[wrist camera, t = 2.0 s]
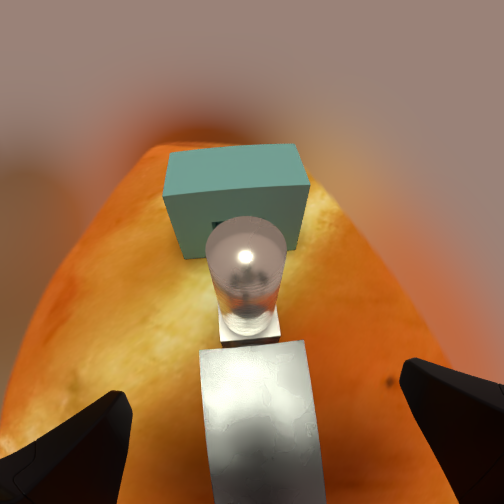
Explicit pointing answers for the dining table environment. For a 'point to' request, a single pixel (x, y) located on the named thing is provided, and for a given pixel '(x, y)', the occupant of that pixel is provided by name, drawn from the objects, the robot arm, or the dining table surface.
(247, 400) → the grey rectangular box
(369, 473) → the dining table surface
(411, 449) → the dining table surface
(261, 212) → the teal block
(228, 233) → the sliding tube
